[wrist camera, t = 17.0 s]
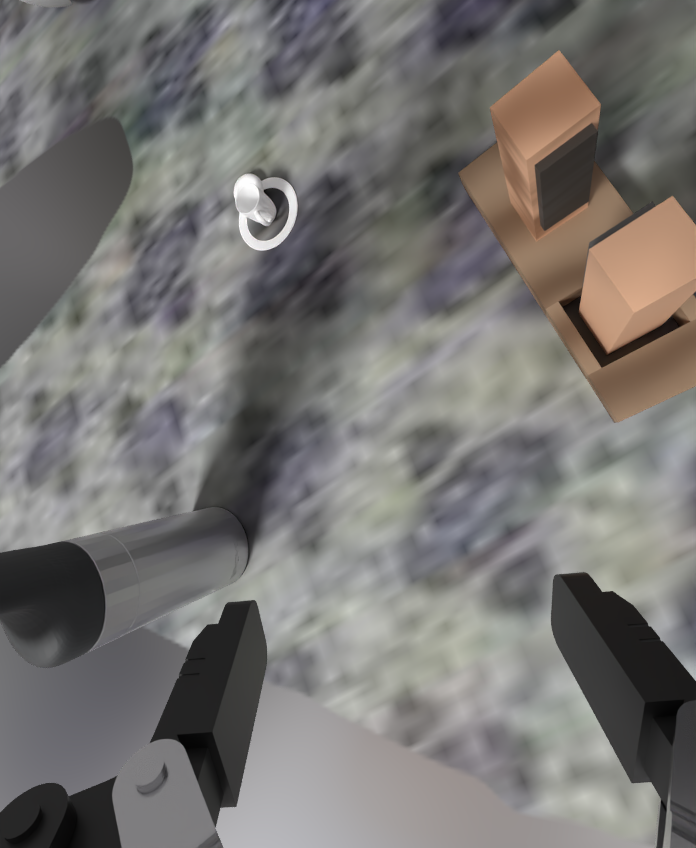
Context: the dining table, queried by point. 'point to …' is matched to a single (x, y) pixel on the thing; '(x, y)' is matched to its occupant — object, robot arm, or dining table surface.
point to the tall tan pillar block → (638, 274)
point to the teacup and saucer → (262, 207)
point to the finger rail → (568, 227)
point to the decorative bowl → (49, 3)
